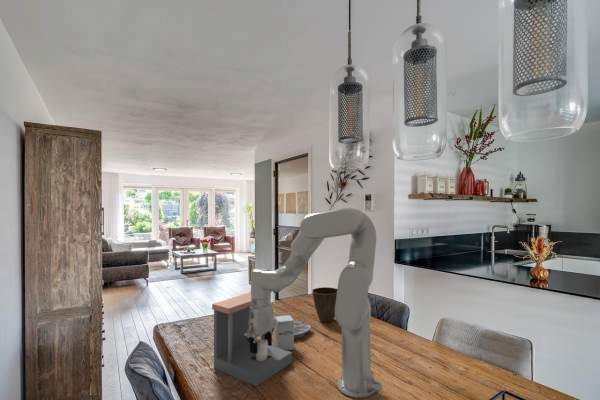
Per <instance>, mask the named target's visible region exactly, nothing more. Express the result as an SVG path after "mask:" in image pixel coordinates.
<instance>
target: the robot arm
mask: <svg viewBox="0 0 600 400" xmlns="http://www.w3.org/2000/svg"><path fill="white" fill-rule="evenodd" d="M299 229H300V231H299V233H298V234H297V235H296V236H295V238H294V239H293V241H292V242H291V243H290V249H291V252H290V255H289V256H288V258H287V259H286V261H285V262H284V263H283V265H282V266H281V267H279V268H277V269H274V270H272V271H271V270H270V269H269V268H266V267H265V268H264V267H263V268H262V267H261V268H254V269H252V270H251V272H250V292H251V302H250V305H251V307H250V312H249V322H248V329H247V331H246V332H245V334H244V336H245V337H246V338H247V340H248V341H249V342H250V352H251V353H254V354H257V342H256V340H258V337H259V336H260V337H261V335H263V334H265V339H266V340H268V345H269V346H273V344H272V343H273V342H272V341H273V338H272V337H273V334H274V326H275V324H276V321H275V320H274V317H275V314H274V313H275V312H274V306H273V303H272V302H271V301H272V300H271V299H272V297H271V296H272V295H271V294H272V293H271V292H273V293H278V292H280V291H283V290H284V289H286V288H288V287H289V286H291V285H292V284H294V282H295V281H296V280H297V278H298V277H299V276H300V275H301V273H302V272H303V270H304V269H305V267H307V266H306V265H307V264H308V263H309V260H310V258H311V257H312V256H313V254H314V253H315V252H316V250H317V249H318V248H319V246H320V245H321V243H322V242H324V241H325V239H328V238H335V237H341V236H348V235H351V241H350V245H349V255H348V261H347V265H346V266H345V267H344V268H343V269H342V270H341V272H340V274H339V277H338V278H339V279H338V281H337V288H336V289H337V297H336V305H335V317H334V318H335V320H336V322H337V324H338V326H340V327H341V376H340V377H339V378H338V380H337V388H338V390H339V391H340V392H341V393H342V394H344V395H346V396H349V397H351V398H359V399H360V398H361V399H362V398H367V397H370V396H372V395H373V394H374V393H376V392H378V393H382V392H383V390H384V389H383V385H382V381H379V380H376V379H375V378H374V373H372V372H371V370H372V369H371V367H372V365H371V362H372V361H371V356H372V355H371V320H372V319H371V318H372V306H371V305H372V304H371V301H370V299H369V297H368V296H369V290H370V286H371V285H372V283H373V280H374V269H375V267H374V266H375V259H376V258H375V257H376V246H377V231H376V227H375V225H374V223H373V221H372V219H371V218H370V217H369V216H368V215H367V214H366V213H364V212H362V211H361V210H360V209H357V208H351V207H350V208H339V209H333V210H329V211H328V210H327V211H323V212H316V213H309V214H307V215H306V216H304V217H303V218H302V219H301V222H300V224H299ZM253 335H254V339H253Z"/></svg>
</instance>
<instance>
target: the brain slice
mask: <svg viewBox="0 0 600 400" xmlns="http://www.w3.org/2000/svg"><path fill="white" fill-rule="evenodd" d="M311 328H312V325H311V324H309V323H307V321H302V320H294V339H302V338H303V337H305V335H306V334H307V333H308V332H309V331H310V330H311Z"/></svg>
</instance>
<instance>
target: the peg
mask: <svg viewBox="0 0 600 400" xmlns="http://www.w3.org/2000/svg"><path fill="white" fill-rule="evenodd" d="M256 342H257V354H256V361H258V362H261V363H262V362H264V361H266V360H267V355H268V340H266V339H261V338H259V339H258V338H257V340H256Z"/></svg>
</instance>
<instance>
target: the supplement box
mask: <svg viewBox="0 0 600 400" xmlns="http://www.w3.org/2000/svg"><path fill="white" fill-rule="evenodd" d="M274 320H275V321H276V324H275V326H274V330H273V334H274V341H273V343H274V344H273V345H274V347H277V348H280V349H283V350H286V351H293V350H295V338H294V321H295V320H294V318H293V317H292V316H291V315H277V316H274Z"/></svg>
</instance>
